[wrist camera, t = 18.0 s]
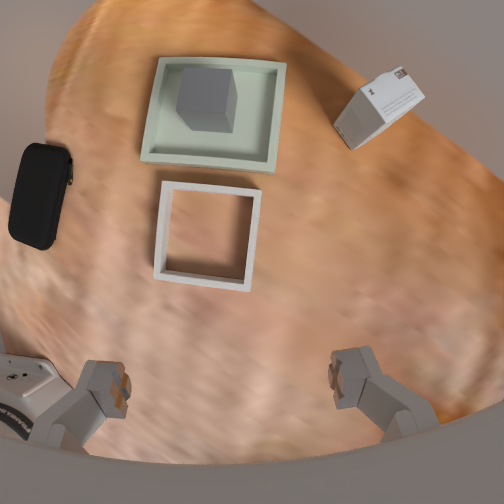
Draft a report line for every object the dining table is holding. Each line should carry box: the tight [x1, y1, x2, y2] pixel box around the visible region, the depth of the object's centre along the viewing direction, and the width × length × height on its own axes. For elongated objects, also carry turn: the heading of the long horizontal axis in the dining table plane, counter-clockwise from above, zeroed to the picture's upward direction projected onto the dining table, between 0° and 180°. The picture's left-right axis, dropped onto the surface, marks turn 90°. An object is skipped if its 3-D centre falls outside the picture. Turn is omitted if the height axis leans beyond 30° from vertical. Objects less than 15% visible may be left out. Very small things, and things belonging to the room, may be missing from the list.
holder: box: [153, 181, 262, 292], centre depth 38 cm, size 12×12×2 cm
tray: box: [140, 57, 287, 175], centre depth 36 cm, size 16×14×2 cm
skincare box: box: [333, 66, 425, 150], centre depth 31 cm, size 6×4×12 cm
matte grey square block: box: [176, 68, 238, 133], centre depth 33 cm, size 5×5×8 cm
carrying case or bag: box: [8, 143, 73, 250], centre depth 38 cm, size 11×3×15 cm
